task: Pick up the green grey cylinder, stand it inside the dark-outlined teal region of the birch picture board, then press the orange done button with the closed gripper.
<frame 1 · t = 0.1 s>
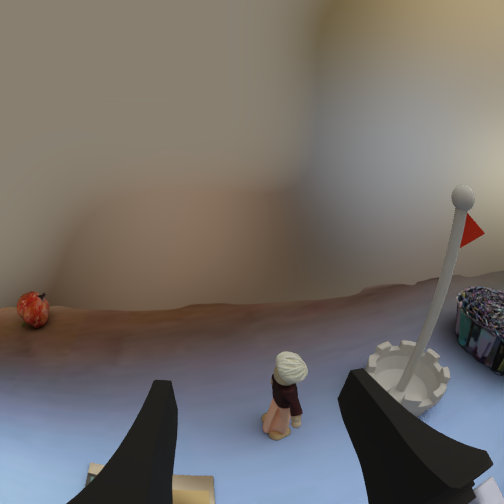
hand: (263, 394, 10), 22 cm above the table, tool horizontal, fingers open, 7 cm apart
grandmother figurine: (276, 429, 30), on the table
decorative bowl: (494, 348, 40), on the table
pomegranate: (37, 325, 43), on the table
flag stand: (398, 393, 34), on the table
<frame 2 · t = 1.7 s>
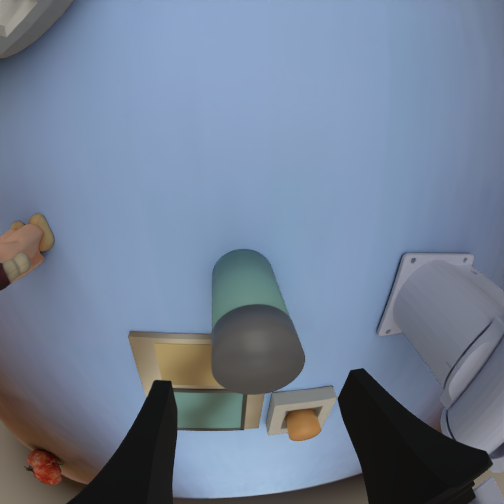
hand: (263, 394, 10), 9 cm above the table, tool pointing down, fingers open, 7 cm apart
grandmother figurine: (37, 233, 16), on the table
button housing: (297, 406, 26), on the table
picture board: (203, 389, 23), on the table
green grey cylinder: (242, 276, 19), on the table
done button: (302, 424, 24), point 2 cm above the table, slide at 0.0 cm
pomegranate: (49, 453, 31), on the table
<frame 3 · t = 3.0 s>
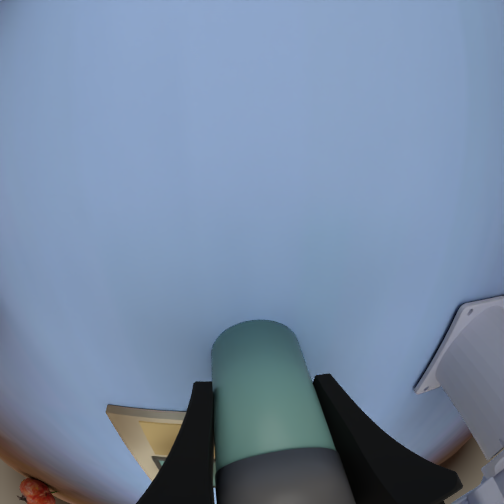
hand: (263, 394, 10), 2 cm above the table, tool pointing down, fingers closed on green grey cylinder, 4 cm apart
picture board: (204, 456, 17), on the table
green grey cylinder: (255, 353, 12), on the table, touching gripper
pomegranate: (42, 481, 25), on the table
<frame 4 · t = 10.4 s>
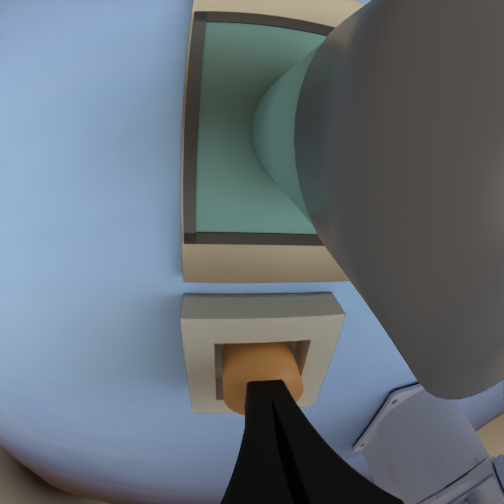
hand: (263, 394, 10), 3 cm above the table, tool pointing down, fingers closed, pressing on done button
button housing: (255, 348, 13), on the table
picture board: (378, 143, 9), on the table
green grey cylinder: (313, 132, 8), point 1 cm above the table, touching picture board
done button: (260, 374, 11), point 2 cm above the table, slide at 0.8 cm, touching gripper
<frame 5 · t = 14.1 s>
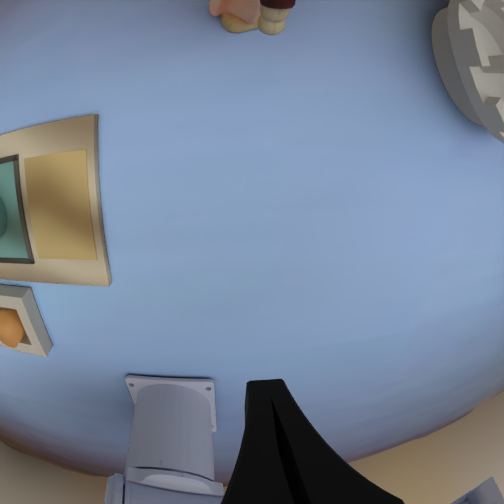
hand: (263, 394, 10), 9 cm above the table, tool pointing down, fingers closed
grandmother figurine: (242, 10, 12), on the table
button housing: (17, 314, 18), on the table
picture board: (20, 208, 14), on the table
done button: (10, 324, 17), point 2 cm above the table, slide at 0.9 cm
flag stand: (473, 65, 13), on the table
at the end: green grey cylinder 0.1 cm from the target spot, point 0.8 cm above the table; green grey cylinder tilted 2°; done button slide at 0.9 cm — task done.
